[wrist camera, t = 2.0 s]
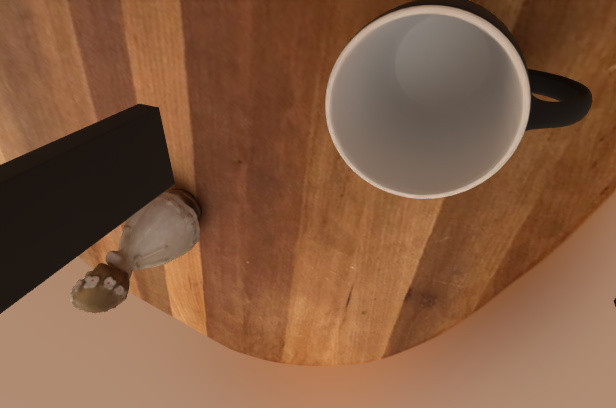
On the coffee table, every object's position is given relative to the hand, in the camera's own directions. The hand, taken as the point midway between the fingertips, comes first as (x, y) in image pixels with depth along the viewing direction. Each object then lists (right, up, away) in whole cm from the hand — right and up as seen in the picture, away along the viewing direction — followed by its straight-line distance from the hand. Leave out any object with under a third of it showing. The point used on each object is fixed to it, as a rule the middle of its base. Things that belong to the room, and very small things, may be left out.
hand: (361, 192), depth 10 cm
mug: (+9, +9, +14) cm, 19 cm away
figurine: (-15, -1, +33) cm, 36 cm away
